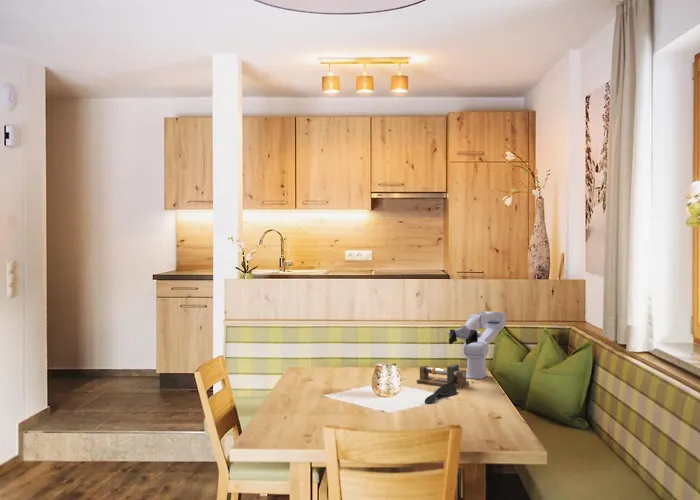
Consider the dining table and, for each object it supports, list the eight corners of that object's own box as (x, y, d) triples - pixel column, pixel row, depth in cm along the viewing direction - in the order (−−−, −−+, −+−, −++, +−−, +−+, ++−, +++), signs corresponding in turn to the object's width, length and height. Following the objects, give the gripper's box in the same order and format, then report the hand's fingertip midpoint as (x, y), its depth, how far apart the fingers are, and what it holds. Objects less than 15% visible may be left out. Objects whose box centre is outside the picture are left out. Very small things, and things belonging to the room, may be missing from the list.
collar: (453, 379, 292) (453, 364, 292) (459, 379, 291) (458, 364, 291) (447, 382, 287) (447, 366, 287) (452, 382, 286) (452, 367, 285)
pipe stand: (427, 378, 302) (427, 364, 301) (468, 384, 290) (468, 369, 290) (416, 382, 293) (416, 368, 293) (458, 388, 282) (458, 373, 282)
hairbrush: (416, 396, 261) (441, 380, 282) (416, 405, 261) (442, 388, 282) (436, 399, 256) (460, 382, 278) (436, 408, 257) (460, 391, 278)
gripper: (452, 320, 299) (440, 333, 288) (483, 321, 292) (472, 334, 281) (455, 335, 301) (443, 348, 290) (486, 336, 293) (475, 349, 282)
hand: (458, 342), depth 285 cm, fingers open, 7 cm apart
